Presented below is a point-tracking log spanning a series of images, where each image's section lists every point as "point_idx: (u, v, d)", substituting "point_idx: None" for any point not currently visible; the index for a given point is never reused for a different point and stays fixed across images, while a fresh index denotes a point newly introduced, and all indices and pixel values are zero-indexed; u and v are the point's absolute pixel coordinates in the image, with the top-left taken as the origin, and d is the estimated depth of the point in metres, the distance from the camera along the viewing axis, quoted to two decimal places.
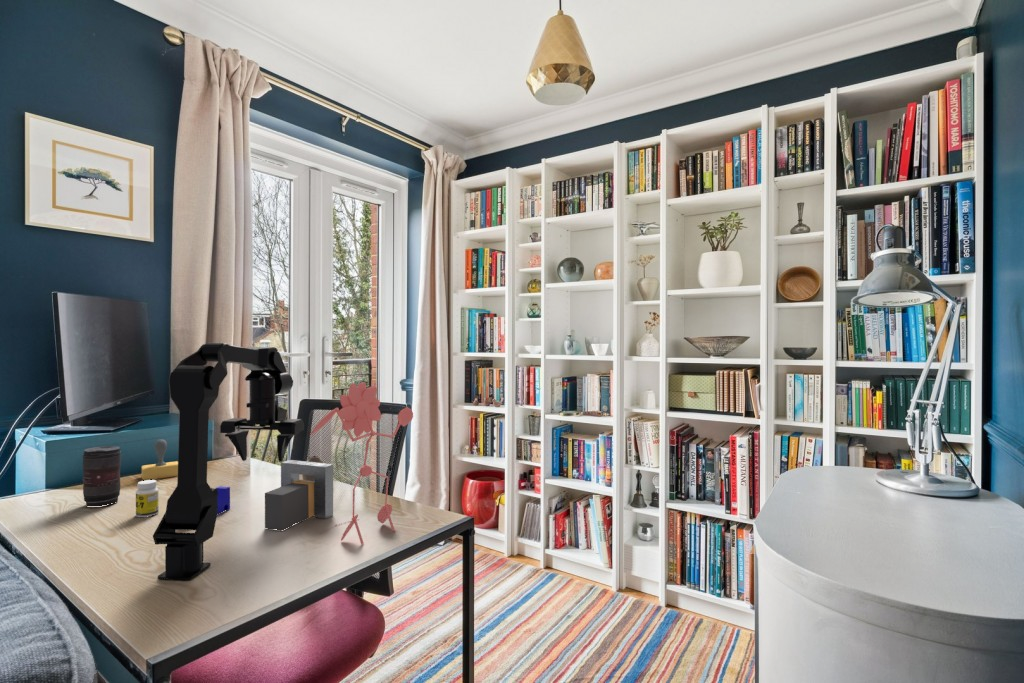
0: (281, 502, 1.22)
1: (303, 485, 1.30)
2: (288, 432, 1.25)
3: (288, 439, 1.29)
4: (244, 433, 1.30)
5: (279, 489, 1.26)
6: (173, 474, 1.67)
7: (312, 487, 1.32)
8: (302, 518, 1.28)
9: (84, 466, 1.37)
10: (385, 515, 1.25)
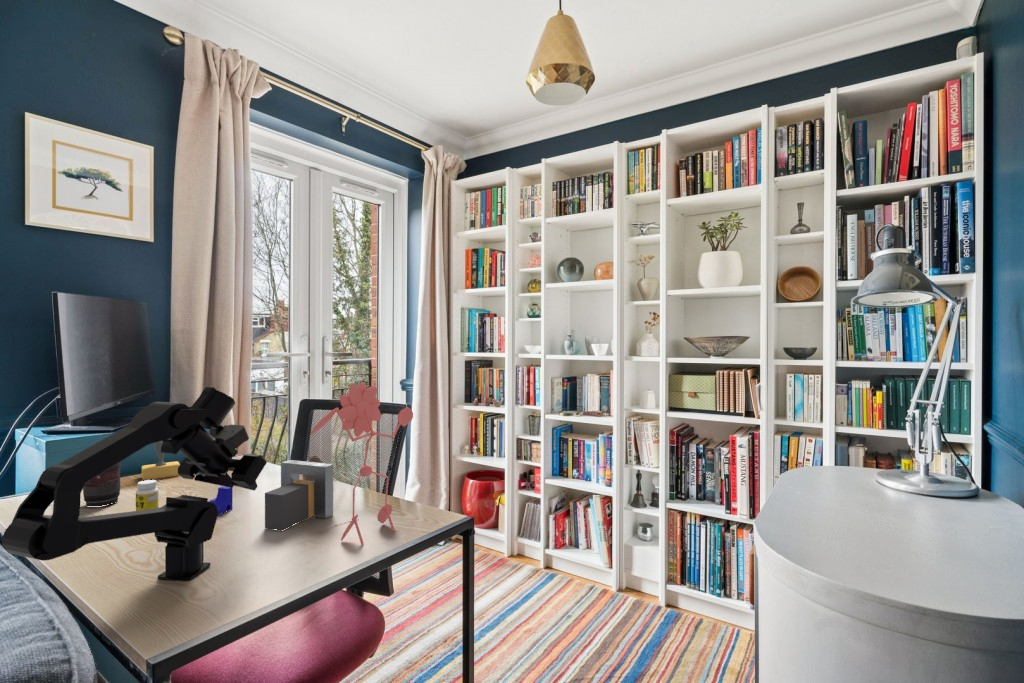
0: (281, 502, 1.22)
1: (303, 485, 1.30)
2: (245, 485, 1.04)
3: None
4: None
5: (279, 489, 1.26)
6: (173, 474, 1.67)
7: (312, 487, 1.32)
8: (302, 518, 1.28)
9: None
10: (385, 515, 1.25)
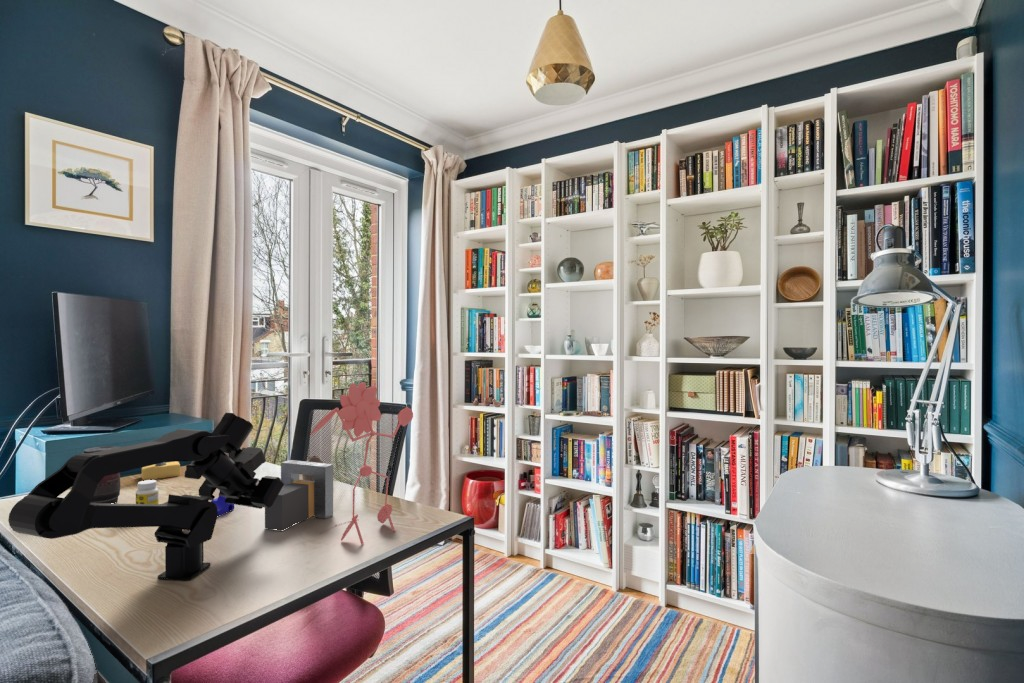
0: (281, 502, 1.22)
1: (303, 485, 1.30)
2: (264, 506, 1.09)
3: None
4: None
5: None
6: (173, 474, 1.67)
7: (312, 487, 1.32)
8: (302, 518, 1.28)
9: None
10: (385, 515, 1.25)
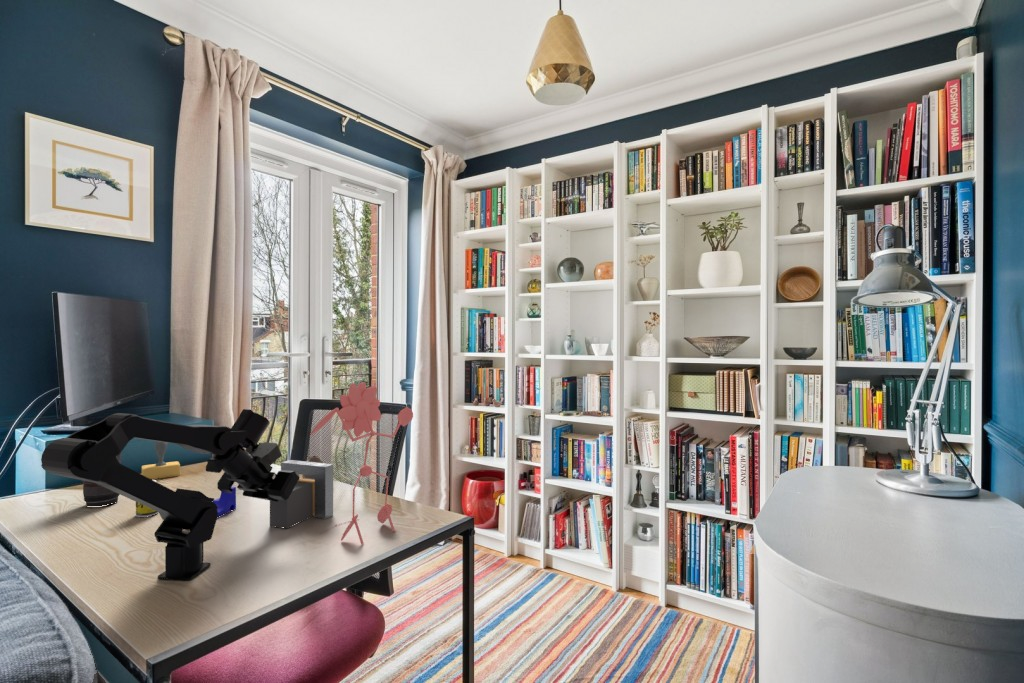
0: (286, 500, 1.23)
1: (307, 483, 1.31)
2: (281, 499, 1.14)
3: None
4: None
5: None
6: (173, 474, 1.67)
7: None
8: (306, 516, 1.30)
9: None
10: (385, 515, 1.25)
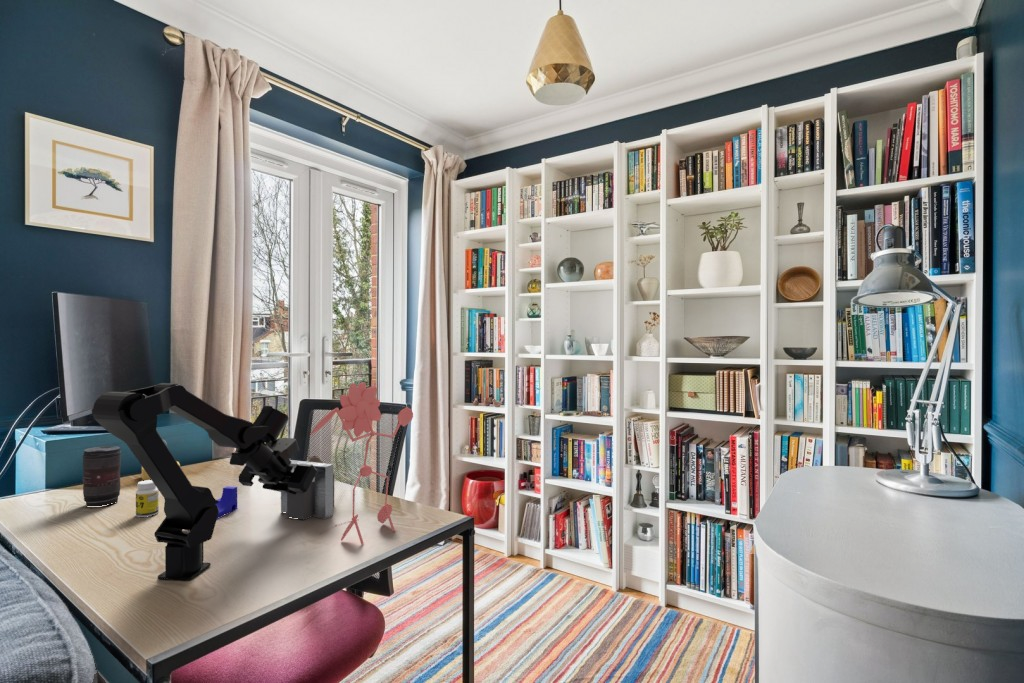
0: (303, 493, 1.29)
1: None
2: (300, 491, 1.19)
3: None
4: None
5: None
6: None
7: None
8: None
9: (84, 466, 1.37)
10: (385, 515, 1.25)
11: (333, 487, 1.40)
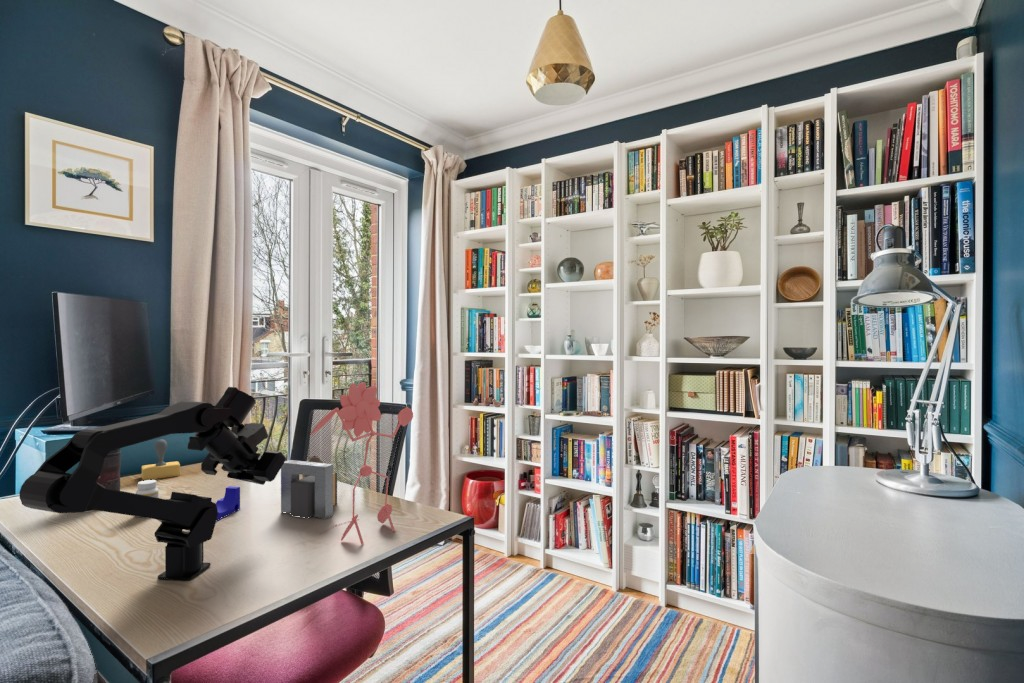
0: (306, 491, 1.30)
1: None
2: (266, 480, 1.10)
3: None
4: None
5: (303, 479, 1.34)
6: (173, 474, 1.67)
7: (333, 478, 1.40)
8: None
9: None
10: (385, 515, 1.25)
11: (336, 486, 1.41)
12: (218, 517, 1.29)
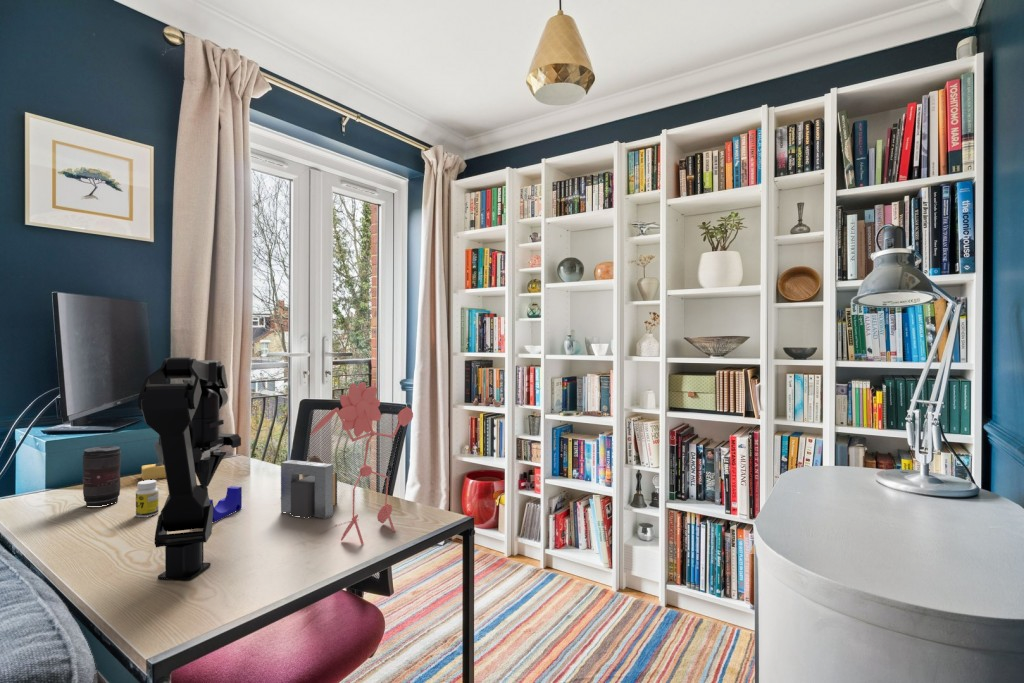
0: (306, 491, 1.30)
1: None
2: (239, 444, 1.24)
3: None
4: None
5: (303, 479, 1.34)
6: None
7: (333, 478, 1.40)
8: None
9: (84, 466, 1.37)
10: (385, 515, 1.25)
11: (336, 486, 1.41)
12: (219, 517, 1.29)
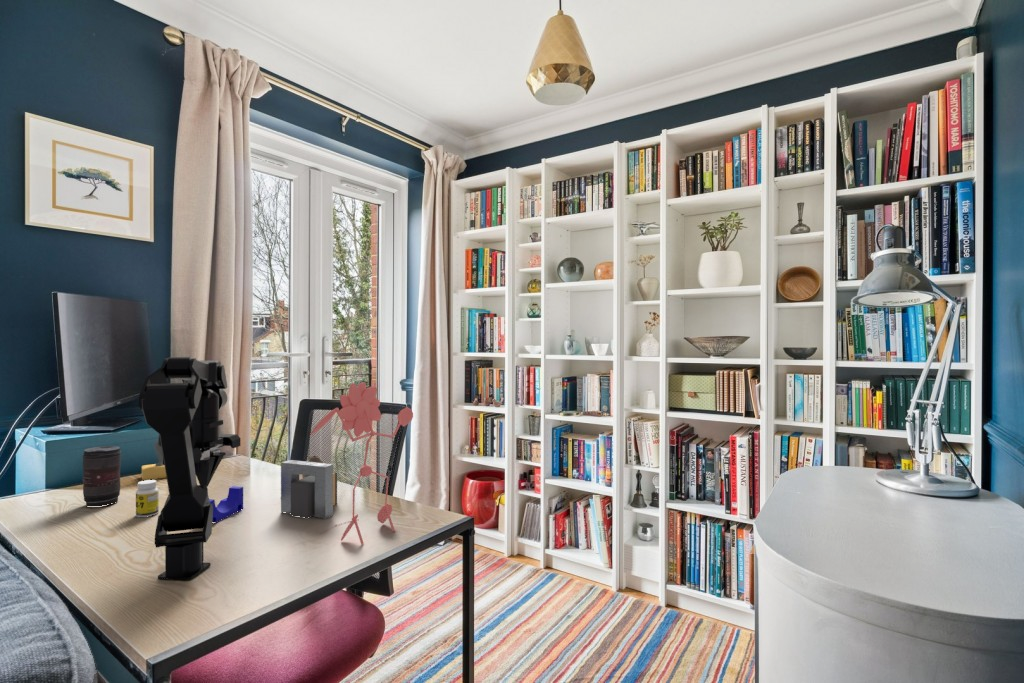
0: (306, 491, 1.30)
1: None
2: (238, 444, 1.24)
3: None
4: None
5: (303, 479, 1.34)
6: None
7: (333, 478, 1.40)
8: None
9: (84, 466, 1.37)
10: (385, 515, 1.25)
11: (336, 486, 1.41)
12: (221, 517, 1.29)
